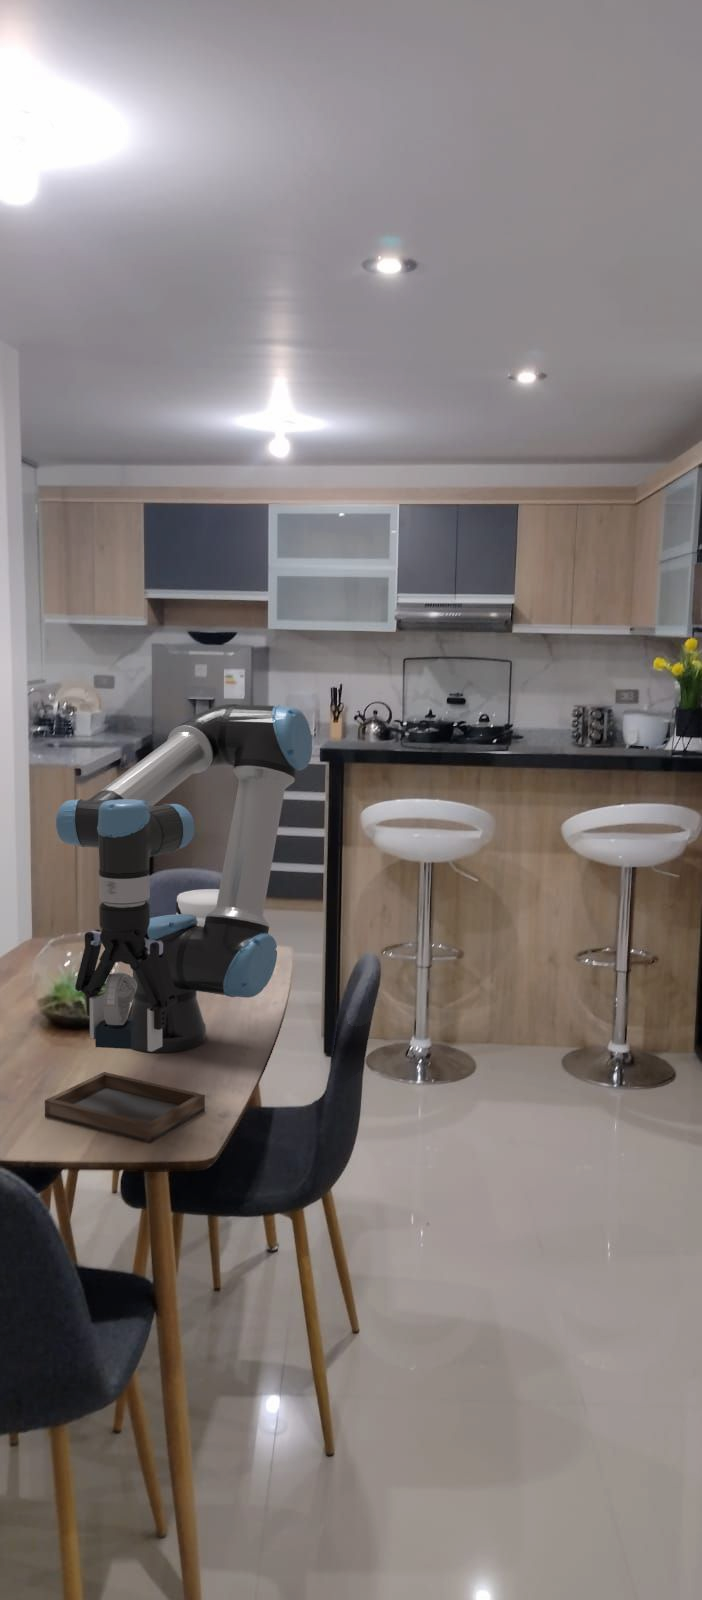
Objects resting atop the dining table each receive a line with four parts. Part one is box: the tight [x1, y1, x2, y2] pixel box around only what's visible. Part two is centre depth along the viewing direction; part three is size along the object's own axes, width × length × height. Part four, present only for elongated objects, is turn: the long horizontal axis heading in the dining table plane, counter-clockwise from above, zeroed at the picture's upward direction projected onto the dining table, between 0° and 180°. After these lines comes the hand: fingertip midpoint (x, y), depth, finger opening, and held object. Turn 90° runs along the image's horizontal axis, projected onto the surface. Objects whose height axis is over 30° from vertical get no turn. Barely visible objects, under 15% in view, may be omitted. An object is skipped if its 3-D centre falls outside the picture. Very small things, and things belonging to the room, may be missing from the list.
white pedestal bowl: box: [175, 888, 220, 927], centre depth 253 cm, size 17×17×18 cm
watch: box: [95, 972, 138, 1050], centre depth 175 cm, size 6×8×11 cm
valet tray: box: [44, 1071, 206, 1144], centre depth 175 cm, size 14×20×3 cm
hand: (125, 1042), depth 174 cm, fingers open, 10 cm apart
